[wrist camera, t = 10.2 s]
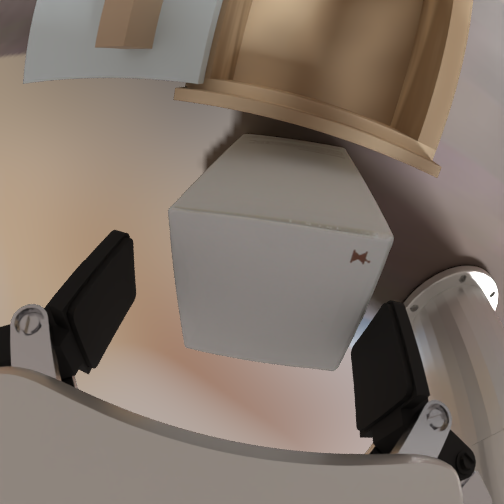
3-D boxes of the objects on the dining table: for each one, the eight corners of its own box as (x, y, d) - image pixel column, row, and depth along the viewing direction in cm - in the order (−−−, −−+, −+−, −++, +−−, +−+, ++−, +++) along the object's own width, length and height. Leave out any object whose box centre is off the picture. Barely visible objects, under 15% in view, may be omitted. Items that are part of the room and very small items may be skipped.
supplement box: (241, 130, 19) (162, 199, 8) (347, 146, 18) (405, 237, 8) (235, 223, 23) (179, 350, 12) (327, 237, 22) (338, 376, 12)
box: (435, -4, 10) (484, -27, 4) (395, 145, 17) (437, 177, 11) (255, -58, 10) (234, -107, 4) (215, 93, 17) (173, 99, 12)
